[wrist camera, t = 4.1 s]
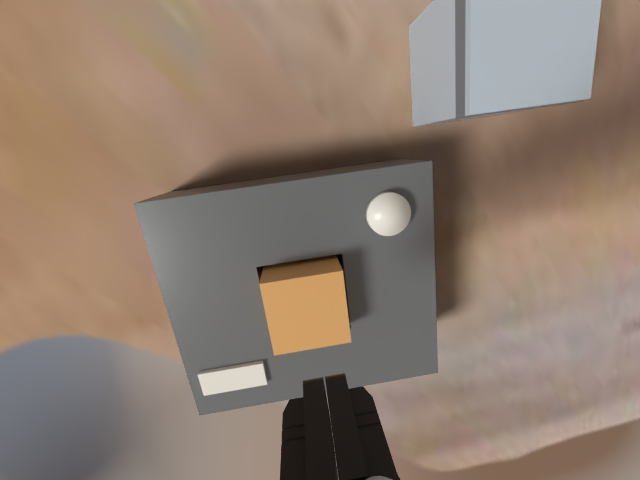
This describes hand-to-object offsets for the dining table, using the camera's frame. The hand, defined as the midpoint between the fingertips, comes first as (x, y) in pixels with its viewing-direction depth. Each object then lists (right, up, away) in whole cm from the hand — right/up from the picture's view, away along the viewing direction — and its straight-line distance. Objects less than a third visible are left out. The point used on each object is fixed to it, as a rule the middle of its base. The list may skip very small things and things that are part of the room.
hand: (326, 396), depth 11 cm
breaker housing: (-2, +3, +12) cm, 13 cm away
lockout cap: (+9, +17, +10) cm, 21 cm away
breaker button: (-1, +3, +10) cm, 11 cm away
